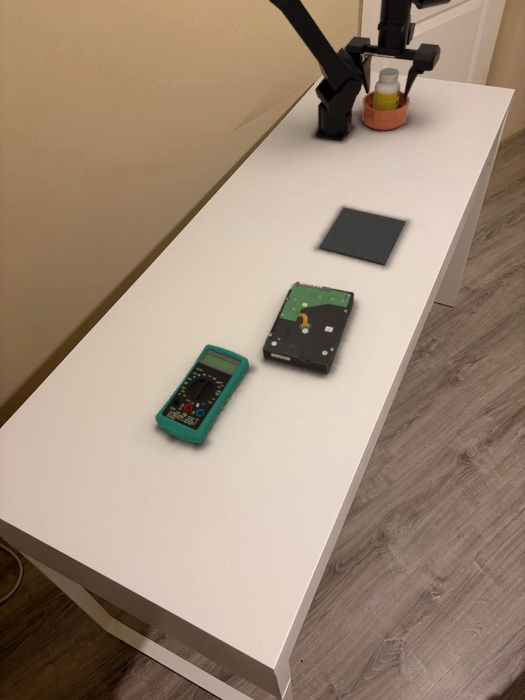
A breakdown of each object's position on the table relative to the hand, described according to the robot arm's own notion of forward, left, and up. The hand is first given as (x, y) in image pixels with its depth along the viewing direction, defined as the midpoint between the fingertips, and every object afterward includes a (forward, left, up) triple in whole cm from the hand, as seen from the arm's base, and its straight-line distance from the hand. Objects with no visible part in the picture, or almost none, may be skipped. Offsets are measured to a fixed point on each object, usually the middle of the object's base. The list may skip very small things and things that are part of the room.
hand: (386, 95), depth 108 cm
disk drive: (+9, -63, -6) cm, 64 cm away
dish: (0, 0, -6) cm, 6 cm away
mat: (+9, -39, -6) cm, 40 cm away
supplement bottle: (0, 0, -5) cm, 5 cm away
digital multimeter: (0, -80, -6) cm, 80 cm away
